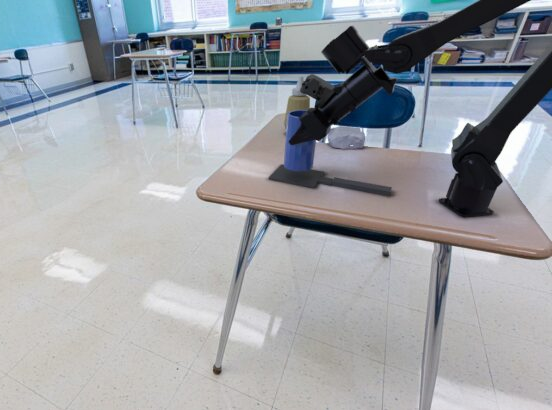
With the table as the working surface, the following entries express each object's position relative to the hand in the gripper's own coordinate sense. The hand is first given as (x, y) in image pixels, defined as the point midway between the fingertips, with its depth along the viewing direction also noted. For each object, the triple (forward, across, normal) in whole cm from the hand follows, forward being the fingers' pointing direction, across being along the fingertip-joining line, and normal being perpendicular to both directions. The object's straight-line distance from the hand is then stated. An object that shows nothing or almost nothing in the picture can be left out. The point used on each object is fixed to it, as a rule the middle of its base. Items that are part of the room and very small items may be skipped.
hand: (294, 138), depth 76 cm
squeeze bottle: (+13, -32, 0) cm, 35 cm away
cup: (+4, 0, +6) cm, 7 cm away
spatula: (+1, 0, +13) cm, 13 cm away
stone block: (+3, -30, +11) cm, 32 cm away
